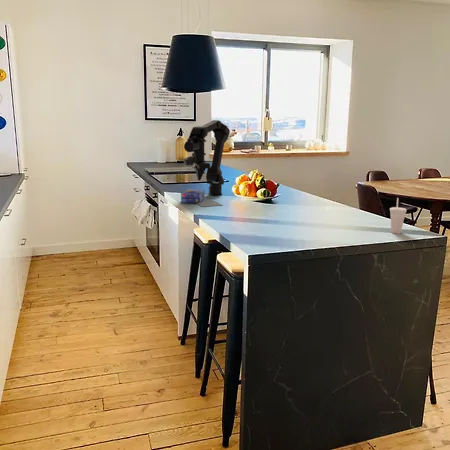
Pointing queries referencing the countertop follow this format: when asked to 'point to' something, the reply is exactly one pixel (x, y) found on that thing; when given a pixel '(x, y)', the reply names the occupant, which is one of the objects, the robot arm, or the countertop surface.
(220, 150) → the robot arm
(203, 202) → the mat
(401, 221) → the smoothie
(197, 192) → the ink cartridge box
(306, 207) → the countertop surface
